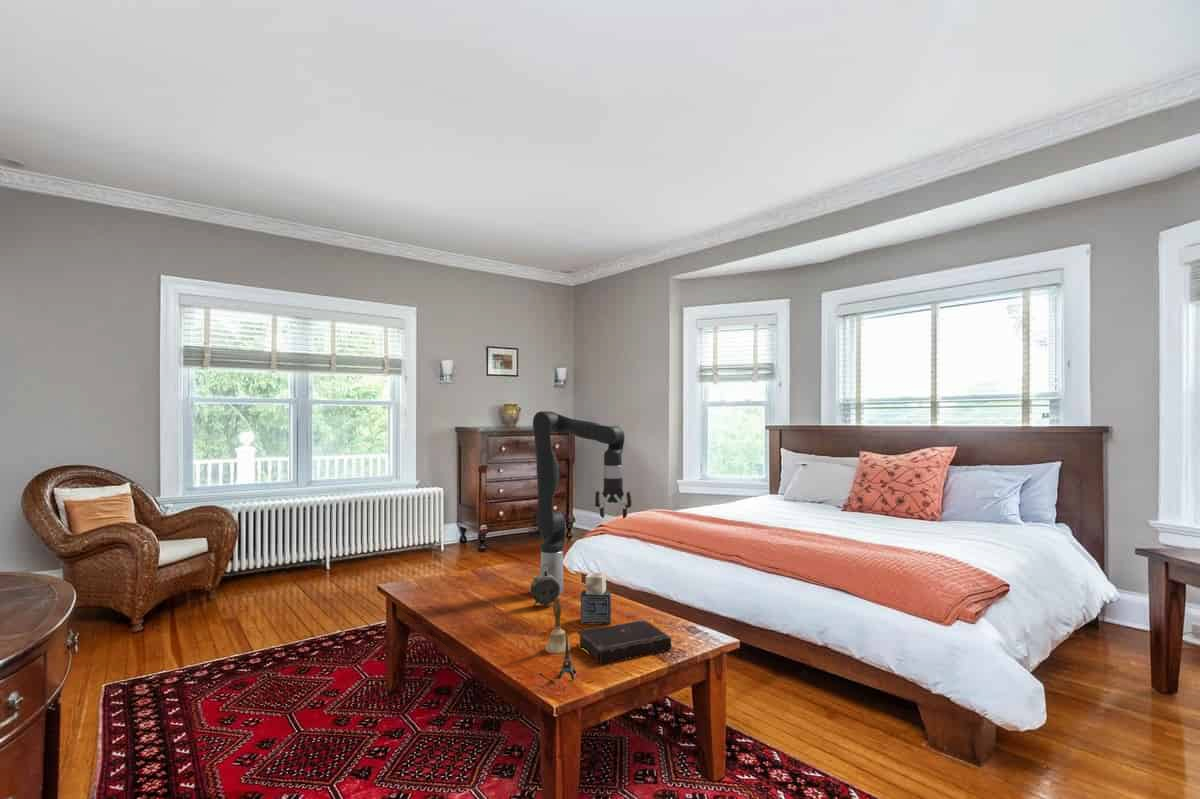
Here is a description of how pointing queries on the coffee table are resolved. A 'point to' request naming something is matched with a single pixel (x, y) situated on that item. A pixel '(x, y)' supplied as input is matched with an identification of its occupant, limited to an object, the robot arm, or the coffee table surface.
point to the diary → (623, 641)
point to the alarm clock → (545, 588)
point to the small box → (596, 608)
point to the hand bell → (557, 633)
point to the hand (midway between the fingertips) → (613, 517)
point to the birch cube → (596, 583)
